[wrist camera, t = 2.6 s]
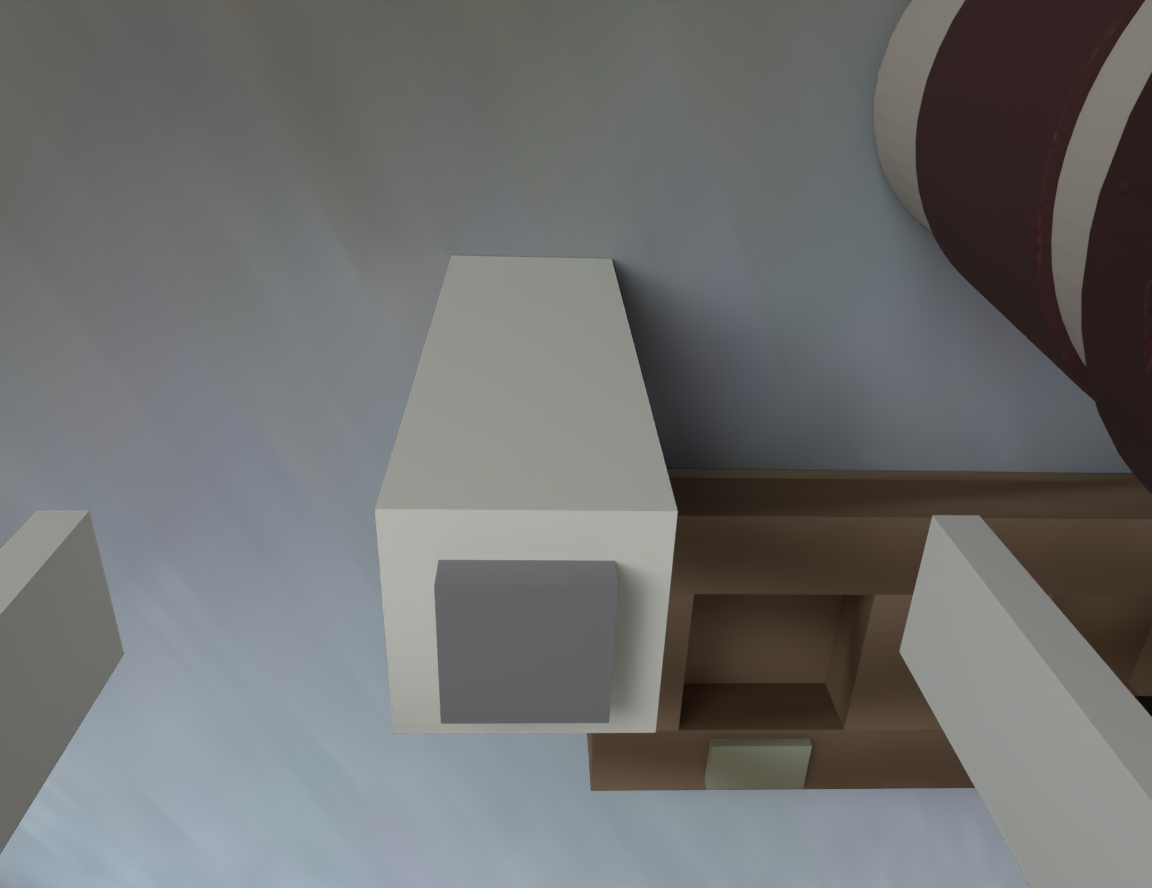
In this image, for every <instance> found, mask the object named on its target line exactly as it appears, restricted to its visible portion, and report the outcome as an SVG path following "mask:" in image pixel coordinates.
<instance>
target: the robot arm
mask: <svg viewBox="0 0 1152 888" xmlns="http://www.w3.org/2000/svg"><path fill="white" fill-rule="evenodd" d="M899 652H900V654H901V656H902V657H903V659H904V661H905V663H906V665H907V666H908V668H909V670H910V672H911V674H912V675H913V677H914V679H915V681H916V682H917V684H918V686H919V688H920V690H921V691H922V693H923V695H924V697H925V699H926V700H927V702H928V704H929V706H930V708H931V709H932V711H933V713H934V715H935V717H936V718H937V720H938V722H939V724H940V726H941V727H942V729H943V731H944V733H945V735H946V736H947V738H948V740H949V742H950V743H951V745H952V747H953V749H954V751H955V752H956V754H957V756H958V758H959V760H960V761H961V763H962V765H963V767H964V769H965V770H966V772H967V774H968V776H969V778H970V779H971V781H972V783H973V785H974V787H975V788H976V790H977V792H978V794H979V796H980V797H981V799H982V801H983V803H984V804H985V806H986V808H987V810H988V812H989V813H990V815H991V817H992V819H993V821H994V822H995V824H996V826H997V828H998V830H999V831H1000V833H1001V835H1002V837H1003V839H1004V840H1005V842H1006V844H1007V846H1008V848H1009V849H1010V851H1011V853H1012V855H1013V857H1014V858H1015V860H1016V862H1017V864H1018V865H1019V867H1020V869H1021V871H1022V873H1023V874H1024V876H1025V878H1026V880H1027V882H1028V883H1029V885H1030V887H1031V888H1152V696H1133V695H1132V693H1131V692H1130V691H1129V690H1128V689H1127V688H1126V686H1125V685H1124V684H1123V683H1122V682H1121V681H1120V679H1119V678H1118V677H1117V676H1116V675H1115V674H1114V672H1113V671H1112V670H1111V669H1110V668H1109V667H1108V665H1107V664H1106V663H1105V662H1104V661H1103V660H1102V658H1101V657H1100V656H1099V655H1098V654H1097V653H1096V651H1095V650H1094V649H1093V648H1092V647H1091V646H1090V644H1089V643H1088V642H1087V641H1086V640H1085V639H1084V637H1083V636H1082V635H1081V634H1080V633H1079V632H1078V630H1077V629H1076V628H1075V627H1074V626H1073V624H1072V623H1071V622H1070V621H1069V620H1068V619H1067V617H1066V616H1065V615H1064V614H1063V613H1062V612H1061V610H1060V609H1059V608H1058V607H1057V606H1056V605H1055V603H1054V602H1053V601H1052V600H1051V599H1050V598H1049V596H1048V595H1047V594H1046V593H1045V592H1044V591H1043V589H1042V588H1041V587H1040V586H1039V585H1038V584H1037V582H1036V581H1035V580H1034V579H1033V578H1032V577H1031V575H1030V574H1029V573H1028V572H1027V571H1026V570H1025V568H1024V567H1023V566H1022V565H1021V564H1020V563H1019V561H1018V560H1017V559H1016V558H1015V557H1014V556H1013V554H1012V553H1011V552H1010V551H1009V550H1008V549H1007V547H1006V546H1005V545H1004V544H1003V543H1002V542H1001V540H1000V539H999V538H998V537H997V536H996V534H995V533H994V532H993V531H992V530H991V529H990V527H989V526H988V525H987V524H986V523H985V522H984V520H983V519H982V518H981V517H980V516H979V515H932V519H931V523H930V528H929V532H928V536H927V540H926V544H925V548H924V552H923V556H922V560H921V564H920V569H919V573H918V577H917V581H916V585H915V589H914V593H913V597H912V601H911V606H910V610H909V614H908V618H907V622H906V626H905V630H904V634H903V638H902V642H901V647H900V651H899ZM123 655H124V652H123V647H122V643H121V639H120V635H119V631H118V627H117V623H116V619H115V615H114V610H113V606H112V602H111V598H110V594H109V590H108V586H107V582H106V577H105V573H104V569H103V565H102V561H101V557H100V553H99V549H98V545H97V540H96V536H95V532H94V528H93V524H92V520H91V516H90V512H89V511H63V510H37V511H36V512H35V513H34V514H33V515H32V517H31V518H30V519H29V520H28V521H27V522H26V523H25V524H24V525H23V526H22V527H21V528H20V529H19V530H18V531H17V532H16V533H15V534H14V535H13V536H12V537H11V538H10V540H9V541H8V542H7V543H6V544H5V545H4V546H3V547H2V548H1V549H0V854H1V852H2V851H3V849H4V847H5V846H6V844H7V843H8V841H9V839H10V838H11V836H12V834H13V833H14V831H15V830H16V828H17V826H18V825H19V823H20V821H21V820H22V818H23V817H24V815H25V813H26V812H27V810H28V809H29V807H30V805H31V804H32V802H33V800H34V799H35V797H36V796H37V794H38V792H39V791H40V789H41V787H42V786H43V784H44V783H45V781H46V779H47V778H48V776H49V775H50V773H51V771H52V770H53V768H54V766H55V765H56V763H57V762H58V760H59V758H60V757H61V755H62V753H63V752H64V750H65V749H66V747H67V745H68V744H69V742H70V741H71V739H72V737H73V736H74V734H75V732H76V731H77V729H78V728H79V726H80V724H81V723H82V721H83V719H84V718H85V716H86V715H87V713H88V711H89V710H90V708H91V707H92V705H93V703H94V702H95V700H96V698H97V697H98V695H99V694H100V692H101V690H102V689H103V687H104V685H105V684H106V682H107V681H108V679H109V677H110V676H111V674H112V673H113V671H114V669H115V668H116V666H117V664H118V663H119V661H120V660H121V658H122V656H123Z"/></svg>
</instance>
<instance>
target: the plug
mask: <svg viewBox="0 0 1152 888" xmlns="http://www.w3.org/2000/svg"><path fill="white" fill-rule="evenodd" d="M677 513H678V511H677V507H676V503H675V499H674V495H673V492H672V488H671V484H670V480H669V476H668V472H667V469H666V465H665V461H664V457H663V453H662V450H661V446H660V442H659V438H658V434H657V430H656V427H655V423H654V419H653V415H652V411H651V407H650V404H649V400H648V396H647V392H646V388H645V385H644V381H643V377H642V373H641V369H640V365H639V362H638V358H637V354H636V350H635V346H634V343H633V339H632V335H631V331H630V327H629V323H628V320H627V316H626V312H625V308H624V304H623V301H622V297H621V293H620V289H619V285H618V281H617V278H616V274H615V270H614V266H613V262H612V259H590V258H544V257H498V256H451V259H450V263H449V266H448V269H447V273H446V276H445V279H444V283H443V286H442V289H441V292H440V296H439V299H438V302H437V306H436V309H435V312H434V316H433V319H432V322H431V326H430V329H429V332H428V335H427V339H426V342H425V345H424V349H423V352H422V355H421V359H420V362H419V365H418V368H417V372H416V375H415V378H414V382H413V385H412V388H411V392H410V395H409V398H408V401H407V405H406V408H405V411H404V415H403V418H402V421H401V425H400V428H399V431H398V435H397V438H396V441H395V444H394V448H393V451H392V454H391V458H390V461H389V464H388V468H387V471H386V474H385V477H384V481H383V484H382V487H381V491H380V494H379V497H378V501H377V504H376V507H375V516H376V528H377V540H378V552H379V564H380V577H381V589H382V601H383V613H384V625H385V637H386V650H387V662H388V674H389V686H390V698H391V710H392V723H393V734H480V733H656V723H657V713H658V703H659V693H660V683H661V673H662V663H663V653H664V643H665V633H666V623H667V613H668V603H669V593H670V583H671V573H672V563H673V553H674V543H675V533H676V523H677Z"/></svg>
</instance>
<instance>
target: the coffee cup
mask: <svg viewBox="0 0 1152 888" xmlns="http://www.w3.org/2000/svg"><path fill="white" fill-rule="evenodd" d="M873 125H874V134H875V142H876V147H877V151H878V155H879V160H880V164H881V166H882V169H883V171H884V174H885V176H886V178H887V180H888V182H889V184H890V187H891V189H892V190H893V192H894V193H895V195H896V196H897V198H898V200H899V201H900V203H901V204H902V205H903V206H904V207H905V208H906V210H907V211H908V212H909V213H910V214H911V215H912V216H913V217H914V218H915V219H916V220H918V221H919V222H920V223H921V224H922V225H923V226H924V227H925V228H926V229H928V230H929V231H930V232H931V233H932V234H933V236H934V237H935V239H936V241H937V242H938V244H939V246H940V248H941V249H942V251H943V253H944V254H945V255H946V257H947V258H948V260H949V261H950V262H951V264H952V265H953V266H954V267H955V268H956V269H957V271H958V272H959V273H960V274H961V275H962V276H963V277H964V278H965V279H966V280H967V281H968V282H969V283H970V284H971V285H972V286H973V287H974V288H975V289H976V290H978V291H979V292H980V293H981V294H982V295H983V296H984V297H985V298H986V299H987V300H988V301H989V302H990V303H991V304H992V305H993V306H994V307H995V308H996V309H998V310H999V311H1000V312H1001V313H1002V314H1003V315H1004V316H1005V317H1006V318H1007V319H1008V320H1009V321H1010V322H1011V323H1012V324H1013V325H1014V326H1015V327H1016V328H1018V329H1019V330H1020V331H1021V332H1022V333H1023V334H1024V335H1025V336H1026V337H1027V338H1028V339H1029V340H1030V341H1031V342H1032V343H1033V344H1034V345H1035V346H1036V347H1038V348H1039V349H1040V350H1041V351H1042V352H1043V353H1044V354H1045V355H1046V356H1047V357H1048V358H1049V359H1050V360H1051V361H1052V362H1053V363H1054V364H1055V365H1056V366H1057V367H1059V368H1060V369H1061V370H1062V371H1063V372H1064V373H1065V374H1066V375H1067V376H1068V377H1069V378H1070V379H1071V380H1072V381H1073V382H1074V383H1075V384H1076V385H1077V386H1079V387H1080V388H1081V389H1082V390H1083V391H1084V392H1085V393H1086V394H1087V395H1089V396H1090V397H1091V398H1092V399H1093V400H1094V401H1095V403H1096V406H1097V409H1098V412H1099V415H1100V417H1101V419H1102V421H1103V423H1104V425H1105V427H1106V429H1107V431H1108V433H1109V435H1110V437H1111V439H1112V441H1113V443H1114V445H1115V447H1116V449H1117V451H1118V453H1119V455H1120V456H1121V457H1122V459H1123V460H1124V462H1125V463H1126V464H1127V466H1128V467H1129V468H1130V470H1131V471H1132V473H1133V474H1134V475H1135V476H1136V477H1137V478H1138V480H1139V481H1140V482H1141V483H1142V484H1143V486H1144V487H1145V488H1146V489H1147V490H1148V491H1149V492H1150V493H1151V494H1152V0H912V1H911V3H910V4H909V6H908V7H907V8H906V10H905V11H904V13H903V15H902V17H901V18H900V20H899V22H898V24H897V26H896V28H895V30H894V32H893V34H892V35H891V37H890V40H889V43H888V46H887V49H886V52H885V55H884V57H883V60H882V63H881V66H880V69H879V72H878V79H877V85H876V91H875V97H874V103H873Z"/></svg>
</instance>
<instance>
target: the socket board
mask: <svg viewBox="0 0 1152 888" xmlns="http://www.w3.org/2000/svg"><path fill="white" fill-rule="evenodd" d="M667 472H668V476H669V480H670V484H671V488H672V492H673V495H674V499H675V503H676V507H677V511H678V513H677V523H676V533H675V543H674V553H673V563H672V573H671V583H670V593H669V603H668V613H667V623H666V633H665V643H664V653H663V663H662V673H661V683H660V693H659V703H658V713H657V723H656V733H587V737H588V752H589V767H590V783H591V791H616V790H750V789H885V788H975V787H974V785H973V783H972V781H971V779H970V778H969V776H968V774H967V772H966V770H965V769H964V767H963V765H962V763H961V761H960V760H959V758H958V756H957V754H956V752H955V751H954V749H953V747H952V745H951V743H950V742H949V740H948V738H947V736H946V735H945V733H944V731H943V729H942V727H941V726H940V724H939V722H938V720H937V718H936V717H935V715H934V713H933V711H932V709H931V708H930V706H929V704H928V702H927V700H926V699H925V697H924V695H923V693H922V691H921V690H920V688H919V686H918V684H917V682H916V681H915V679H914V677H913V675H912V674H911V672H910V670H909V668H908V666H907V665H906V663H905V661H904V659H903V657H902V656H901V654H900V652H899V651H900V647H901V642H902V638H903V634H904V630H905V626H906V622H907V618H908V614H909V610H910V606H911V601H912V597H913V593H914V589H915V585H916V581H917V577H918V573H919V569H920V564H921V560H922V556H923V552H924V548H925V544H926V540H927V536H928V532H929V528H930V523H931V519H932V515H979V516H980V517H981V518H982V519H983V520H984V522H985V523H986V524H987V525H988V526H989V527H990V529H991V530H992V531H993V532H994V533H995V534H996V536H997V537H998V538H999V539H1000V540H1001V542H1002V543H1003V544H1004V545H1005V546H1006V547H1007V549H1008V550H1009V551H1010V552H1011V553H1012V554H1013V556H1014V557H1015V558H1016V559H1017V560H1018V561H1019V563H1020V564H1021V565H1022V566H1023V567H1024V568H1025V570H1026V571H1027V572H1028V573H1029V574H1030V575H1031V577H1032V578H1033V579H1034V580H1035V581H1036V582H1037V584H1038V585H1039V586H1040V587H1041V588H1042V589H1043V591H1044V592H1045V593H1046V594H1047V595H1048V596H1049V598H1050V599H1051V600H1052V601H1053V602H1054V603H1055V605H1056V606H1057V607H1058V608H1059V609H1060V610H1061V612H1062V613H1063V614H1064V615H1065V616H1066V617H1067V619H1068V620H1069V621H1070V622H1071V623H1072V624H1073V626H1074V627H1075V628H1076V629H1077V630H1078V632H1079V633H1080V634H1081V635H1082V636H1083V637H1084V639H1085V640H1086V641H1087V642H1088V643H1089V644H1090V646H1091V647H1092V648H1093V649H1094V650H1095V651H1096V653H1097V654H1098V655H1099V656H1100V657H1101V658H1102V660H1103V661H1104V662H1105V663H1106V664H1107V665H1108V667H1109V668H1110V669H1111V670H1112V671H1113V672H1114V674H1115V675H1116V676H1117V677H1118V678H1119V679H1120V681H1121V682H1122V683H1123V684H1124V685H1125V686H1126V688H1127V689H1128V690H1129V691H1130V692H1131V693H1132V695H1133V696H1152V494H1151V493H1150V492H1149V491H1148V490H1147V489H1146V488H1145V487H1144V486H1143V484H1142V483H1141V482H1140V481H1139V480H1138V478H1137V477H1136V476H1135V475H1134V474H1133V473H1035V472H938V471H840V470H743V469H667Z"/></svg>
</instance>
